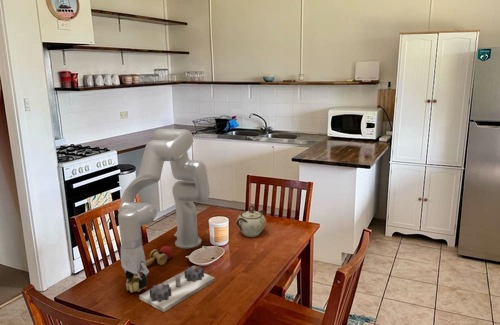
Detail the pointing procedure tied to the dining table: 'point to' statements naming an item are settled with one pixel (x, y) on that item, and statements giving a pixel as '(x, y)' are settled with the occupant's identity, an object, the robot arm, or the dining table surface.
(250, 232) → the teapot
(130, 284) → the brass gear
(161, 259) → the kendama
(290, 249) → the dining table surface
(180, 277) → the gear board
